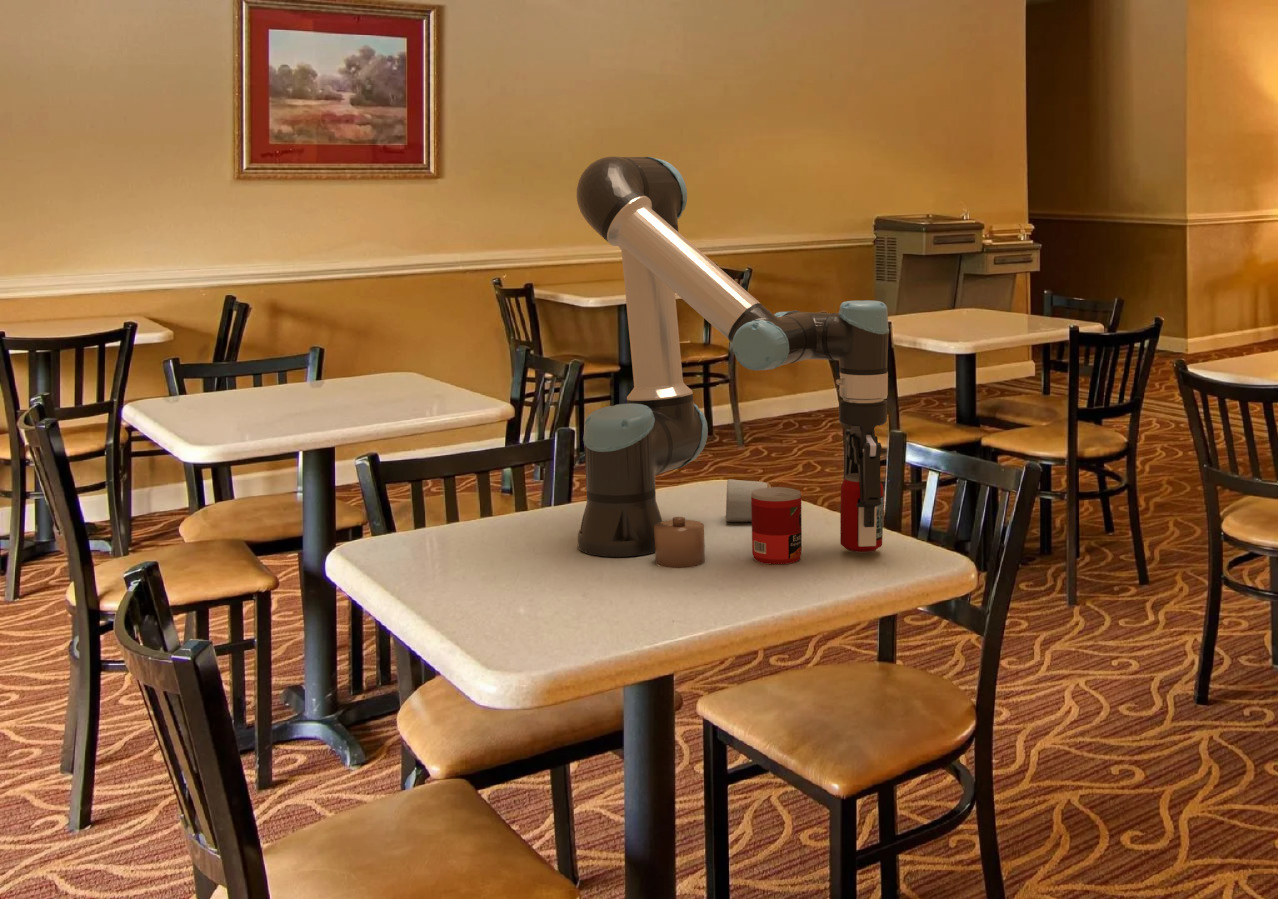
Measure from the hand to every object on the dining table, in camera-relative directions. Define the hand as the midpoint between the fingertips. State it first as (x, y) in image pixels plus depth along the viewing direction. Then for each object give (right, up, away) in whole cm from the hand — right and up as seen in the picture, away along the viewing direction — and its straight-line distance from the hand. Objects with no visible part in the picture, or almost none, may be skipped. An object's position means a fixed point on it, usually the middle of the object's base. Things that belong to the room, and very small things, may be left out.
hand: (861, 539), depth 213 cm
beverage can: (0, -2, 0) cm, 2 cm away
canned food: (-14, -3, -1) cm, 14 cm away
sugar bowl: (-29, -4, 0) cm, 30 cm away
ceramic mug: (-16, +2, +26) cm, 31 cm away
